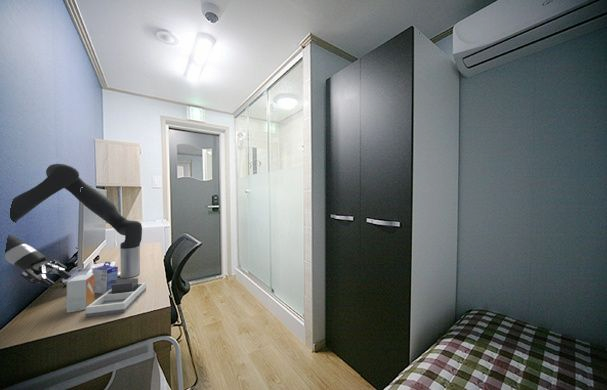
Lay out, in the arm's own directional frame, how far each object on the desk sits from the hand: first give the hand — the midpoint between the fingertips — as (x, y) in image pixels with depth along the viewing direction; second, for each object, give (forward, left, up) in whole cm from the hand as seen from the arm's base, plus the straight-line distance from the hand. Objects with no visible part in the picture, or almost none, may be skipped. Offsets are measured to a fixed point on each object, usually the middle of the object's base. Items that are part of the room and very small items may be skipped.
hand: (61, 281), depth 91 cm
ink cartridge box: (-15, +8, -12) cm, 21 cm away
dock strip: (0, +21, -12) cm, 24 cm away
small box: (0, +7, -12) cm, 14 cm away
